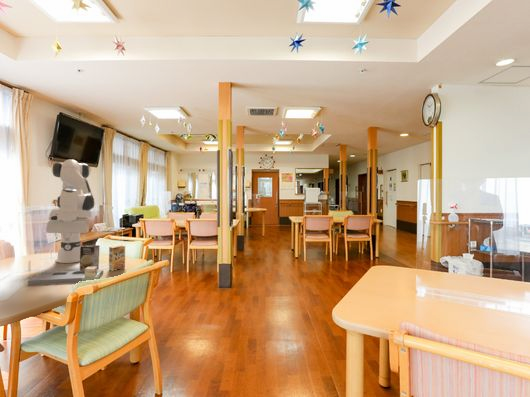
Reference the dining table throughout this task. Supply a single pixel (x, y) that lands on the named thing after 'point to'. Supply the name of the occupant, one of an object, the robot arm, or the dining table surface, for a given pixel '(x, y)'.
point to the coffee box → (89, 256)
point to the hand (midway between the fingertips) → (67, 240)
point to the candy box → (116, 257)
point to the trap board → (61, 277)
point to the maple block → (90, 271)
